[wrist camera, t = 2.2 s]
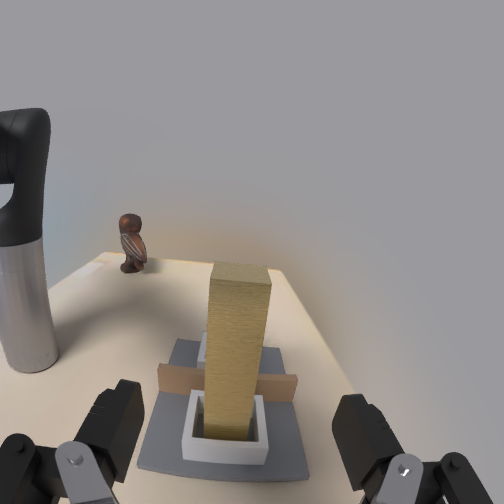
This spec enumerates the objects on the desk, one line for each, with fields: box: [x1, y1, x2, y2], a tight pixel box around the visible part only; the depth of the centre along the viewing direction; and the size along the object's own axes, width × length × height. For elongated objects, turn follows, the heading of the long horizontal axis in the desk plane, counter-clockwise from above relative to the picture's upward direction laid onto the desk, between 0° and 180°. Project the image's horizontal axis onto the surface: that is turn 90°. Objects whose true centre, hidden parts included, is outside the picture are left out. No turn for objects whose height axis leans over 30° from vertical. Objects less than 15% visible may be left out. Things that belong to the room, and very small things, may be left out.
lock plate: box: [137, 331, 310, 482], centre depth 30 cm, size 24×16×4 cm, turn 3°
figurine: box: [119, 214, 147, 273], centre depth 69 cm, size 13×6×15 cm, turn 46°
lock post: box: [204, 261, 272, 442], centre depth 22 cm, size 4×4×18 cm
